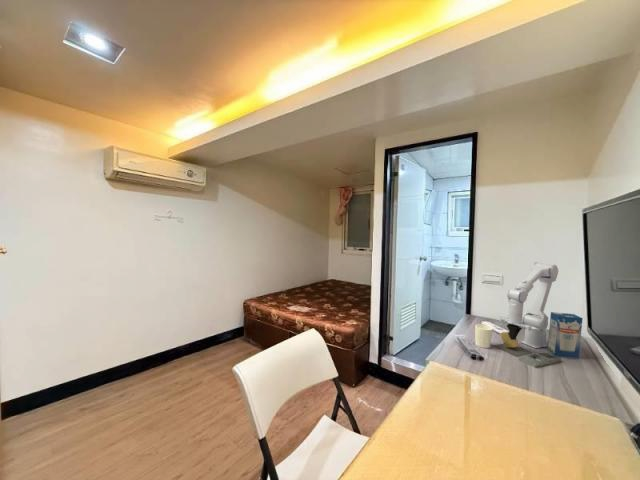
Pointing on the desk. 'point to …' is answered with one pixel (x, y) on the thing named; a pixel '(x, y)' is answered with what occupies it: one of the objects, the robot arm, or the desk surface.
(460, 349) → the desk surface
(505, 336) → the brass rectangular block
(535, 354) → the grey plate with hole
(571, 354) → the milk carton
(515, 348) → the mat
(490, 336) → the white cup
